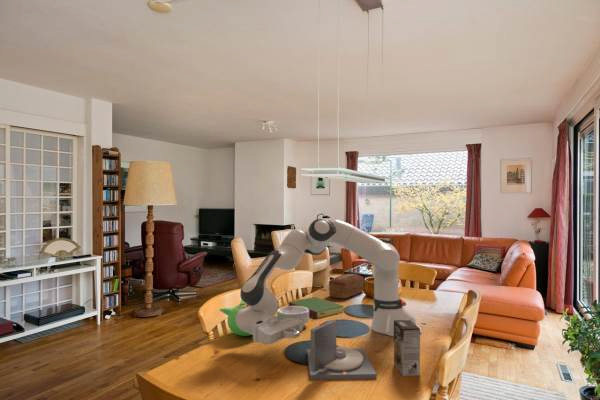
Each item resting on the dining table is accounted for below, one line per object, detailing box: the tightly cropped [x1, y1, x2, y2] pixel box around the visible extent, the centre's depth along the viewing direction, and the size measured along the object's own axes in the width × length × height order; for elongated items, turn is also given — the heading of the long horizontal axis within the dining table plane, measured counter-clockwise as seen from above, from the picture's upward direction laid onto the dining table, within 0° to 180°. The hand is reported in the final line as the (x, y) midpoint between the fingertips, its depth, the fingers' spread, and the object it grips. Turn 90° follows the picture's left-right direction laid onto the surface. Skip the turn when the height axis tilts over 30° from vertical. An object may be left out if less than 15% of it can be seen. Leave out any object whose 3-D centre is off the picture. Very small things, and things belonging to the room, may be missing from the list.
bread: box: [328, 273, 365, 300], centre depth 239 cm, size 14×28×12 cm, turn 142°
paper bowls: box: [276, 305, 310, 327], centre depth 178 cm, size 15×15×8 cm
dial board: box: [306, 347, 377, 381], centre depth 135 cm, size 22×22×2 cm
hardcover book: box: [288, 296, 344, 319], centre depth 204 cm, size 25×19×4 cm
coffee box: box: [393, 320, 421, 377], centre depth 131 cm, size 9×6×16 cm
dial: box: [310, 319, 363, 372], centre depth 133 cm, size 24×17×15 cm
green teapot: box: [219, 299, 253, 337], centre depth 167 cm, size 18×17×15 cm
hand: (297, 335), depth 135 cm, fingers closed
